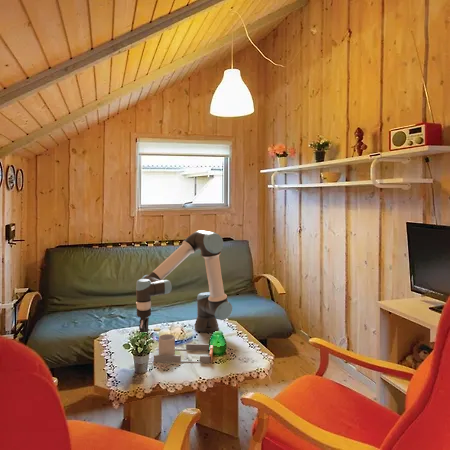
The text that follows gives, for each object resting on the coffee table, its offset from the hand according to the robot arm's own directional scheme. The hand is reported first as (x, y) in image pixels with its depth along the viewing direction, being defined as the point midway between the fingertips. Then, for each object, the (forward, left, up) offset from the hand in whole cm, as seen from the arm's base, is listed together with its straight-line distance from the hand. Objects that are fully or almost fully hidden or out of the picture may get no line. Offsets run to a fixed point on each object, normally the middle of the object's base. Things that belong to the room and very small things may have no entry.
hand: (144, 350), depth 217 cm
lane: (-11, +19, -2) cm, 22 cm away
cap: (-18, +31, +3) cm, 36 cm away
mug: (-6, +10, -3) cm, 12 cm away
